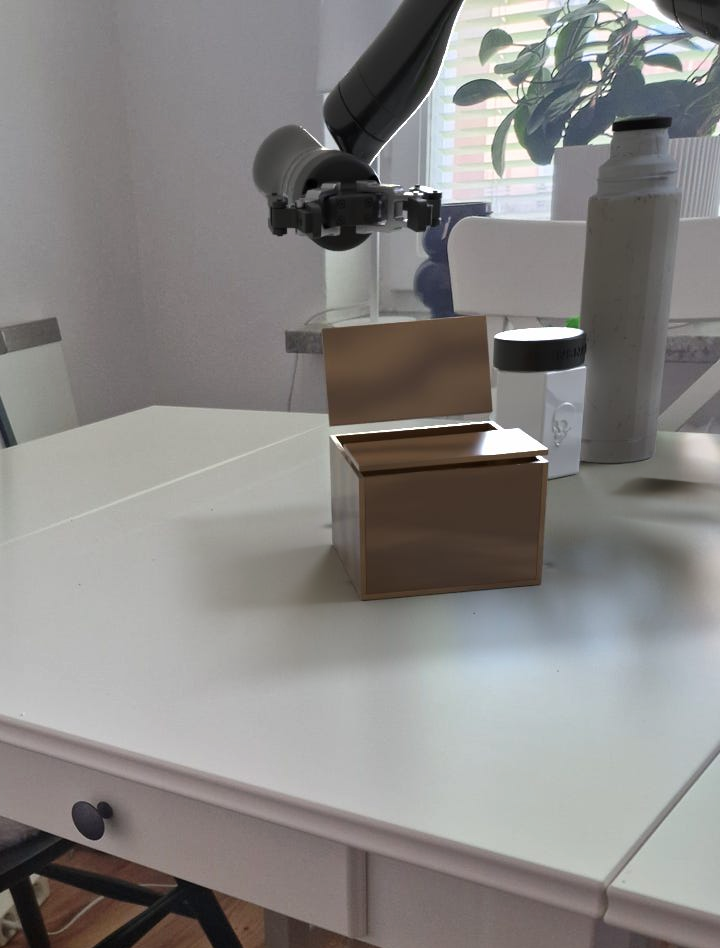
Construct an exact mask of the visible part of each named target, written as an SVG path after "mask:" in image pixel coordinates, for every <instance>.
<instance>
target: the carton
mask: <svg viewBox="0 0 720 948" xmlns="http://www.w3.org/2000/svg"><path fill="white" fill-rule="evenodd" d="M328 439H329V440H328V441H329V445H328V446H329V473H330V476H329V477H330V505H331V506H330V508H331V543H332V545H333V547H334V549H335V551H336V553H337V556H338V557H339V560H340V561H341V563H342V565H343V567H344V569H345V571H346V573H347V575H348V578H349V579H350V581H351V583H352V585H353V587H354V590H355V592H356V593H357V595H358V597H359V599H360V601H372V600H383V599H393V598H403V597H413V596H414V597H416V596H426V595H437V594H438V595H439V594H448V593H458V592H459V593H460V592H461V593H462V592H471V591H482V590H493V589H504V588H506V589H507V588H513V587H514V588H515V587H527V586H538V585H542V576H543V575H542V573H543V561H544V560H543V559H544V545H545V544H544V541H545V529H546V528H545V527H546V512H547V499H548V498H547V496H548V483H549V482H548V481H549V480H548V466H549V462H548V461H547V460H545V459H544V458H543V457H541V456H545V455H548V449H547V448H546V447H544V446H543V445H541V444H540V443H538V442H537V441H536V440H534V439H533V438H531V437H530V436H528V435H527V434H525V433H524V432H522V431H521V430H520V429H511V430H504V429H502V428H501V427H500V426H498V425H497V424H495V423H494V422H493V421H490V420H489V421H482V422H481V421H480V422H479V421H478V422H470V423H467V422H466V423H457V424H446V425H434V426H433V425H432V426H423V427H412V428H400V429H387V430H376V431H365V432H353V433H341V434H330V435H329V436H328Z"/></svg>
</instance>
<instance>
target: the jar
mask: <svg viewBox="0 0 720 948" xmlns="http://www.w3.org/2000/svg"><path fill="white" fill-rule="evenodd" d="M586 337H587V333H586V332H585V331H583V330H580V329H572V328H565V327H536V328H535V327H534V328H523V329H514V330H507V331H504V332H500V333H497V334H496V335H494V337H493V352H492V353H493V354H492V365H491V369H490V379H491V394H492V408H493V411H492V413H489V422H490V421H493V422H494V423H495V424H497V425H498V426H500V427H501V428H502V429H504V430H511V429H520V430H521V431H522V432H524V433H525V434H527V435H528V436H530V437H531V438H533V439H534V440H536V441H537V442H538V443H540V444H541V445H543V446H544V447H546V448H547V449H548V455H545V456H541V457H543V458H544V459H545V460H547V461H548V462H549V466H548V481H549V480H554V479H558V478H563V477H569V476H572V475H576V474H578V473H579V471H580V461H581V460H580V447H581V435H582V422H583V409H584V396H585V383H586V370H587V367H586V366H585V365H584V364H583V363H584V362H585V354H586V349H587V343H586Z"/></svg>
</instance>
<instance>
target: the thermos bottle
mask: <svg viewBox="0 0 720 948" xmlns="http://www.w3.org/2000/svg"><path fill="white" fill-rule="evenodd" d="M672 123H673V117H672V116H660V115H650V116H649V115H648V116H637V117H631V118H624V119H620V120H617V121H613V122H612V123H611V132H612V137H611V140H610V143H609V154H608V155H609V156H608V158H607V159H606V160H605V161H604V162H602V163H601V164H600V165H599V166H598V168H597V177H596V178H595V181H596V189H595V190H596V191H595V192H594V193H592V194H590V195H588V197H587V204H586V205H587V206H586V220H585V235H584V236H585V237H584V248H583V249H584V250H583V263H582V275H581V289H580V291H581V292H580V305H579V315H580V317H579V329H580V330H583V331H585V332H586V333H587V337H586V343H587V349H586V354H585V362H584V363H583V364H584V365H585V366H586V367H587V370H586V383H585V396H584V409H583V422H582V435H581V447H580V460H579V461H582V462H587V463H597V464H622V463H624V464H625V463H633V462H638V461H643V460H647V459H650V458H652V457H653V456H654V455H655V453H656V447H657V446H656V443H657V437H658V435H657V434H658V427H659V416H660V408H661V407H660V406H661V397H662V389H663V388H662V387H663V379H664V378H663V377H664V370H665V369H664V368H665V361H666V350H667V343H668V342H667V341H668V332H669V323H670V313H671V305H672V304H671V303H672V295H673V285H674V276H675V266H676V257H677V249H678V236H679V227H680V220H681V210H682V202H683V201H682V200H683V189H681V188H679V187H676V177H677V172H678V171H679V168H678V167H677V166H678V160H677V159H676V158H674V157H673V156H672V155H670V154H669V144H670V142H669V141H670V135H669V128H671V127H672Z"/></svg>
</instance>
